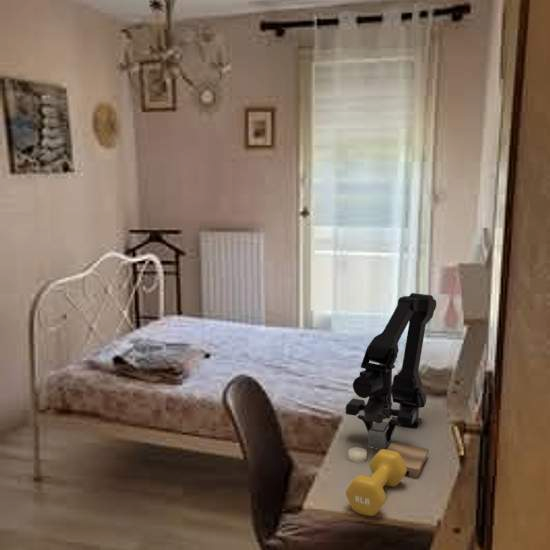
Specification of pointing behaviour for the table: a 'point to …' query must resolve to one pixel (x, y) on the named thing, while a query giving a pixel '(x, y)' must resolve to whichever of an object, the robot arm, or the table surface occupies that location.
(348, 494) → the dumbbell
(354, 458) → the cream rounded piece
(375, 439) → the housing
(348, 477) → the table surface
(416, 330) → the robot arm
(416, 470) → the tan flat board
